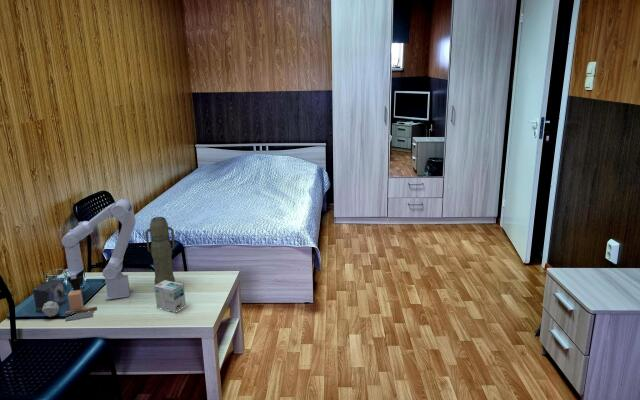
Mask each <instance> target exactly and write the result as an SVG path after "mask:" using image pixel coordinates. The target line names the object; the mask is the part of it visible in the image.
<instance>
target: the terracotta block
mask: <svg viewBox="0 0 640 400" xmlns="http://www.w3.org/2000/svg"><path fill="white" fill-rule="evenodd" d="M67 299H68V304H69V311H71V310H78V309H84V307H83V306H84V299H83V294H82V289H80V290H75V291H74V290H70V291H69V292H68V294H67Z"/></svg>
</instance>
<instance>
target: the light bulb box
mask: <svg viewBox="0 0 640 400" xmlns="http://www.w3.org/2000/svg"><path fill="white" fill-rule="evenodd" d="M154 294H155V295H154V296H155V302H156V309H158V308H162V309H166V310H169V311H168V312H170V311H174V312H176V311H178V310H179V309H181V308H182V307H184V306H185V305H186V306H187V304H186V297H185V296H186V294H185V284H184V283H180V282H176V281H175V282H171V281H167V280H164V281H162V282H160V283H158V284H156V285H155V284H154ZM186 306H185V307H186ZM185 307H184V308H185ZM162 309H161V310H162ZM182 309H183V308H182ZM182 309H181V310H182ZM166 310H165V311H166ZM179 311H180V310H179ZM179 311H178V312H179ZM174 312H173V313H174ZM176 313H177V312H176Z"/></svg>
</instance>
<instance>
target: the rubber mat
mask: <svg viewBox="0 0 640 400" xmlns="http://www.w3.org/2000/svg"><path fill="white" fill-rule="evenodd" d="M93 313H95V311H90V312H84V313H77V314H74V315H72V314H71V315H72V316H69V317H67V316H66V317H65V322H70V321H75V320H83V319H84V320H85V319H89V318H94V314H93Z"/></svg>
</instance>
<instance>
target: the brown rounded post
mask: <svg viewBox="0 0 640 400" xmlns="http://www.w3.org/2000/svg"><path fill="white" fill-rule="evenodd" d="M169 230H170V231H169ZM169 232H171V233H169ZM148 233H150V239H151V243H150V244H149V234H148ZM169 234H171V240H170V236H169ZM145 239H146V247H147V252H149V253H150V254H151V258H152V260H153V261H152V262H153V268H154V269H153V270H154V286H155V285H156V284H158V283H160V282H162V281H164V280H167V281H171V282H176V279H175V278H176V277H175V275H174V270H173V259H172V256H173V250H174V249H175V248H176V245H175V244H176V243H175V231H174V229H173V228H172V226H169V225H168V221H167V219H166V217H164V216H155V217H153V218H151V219H150V223H149V228H147V229H146V231H145Z"/></svg>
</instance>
